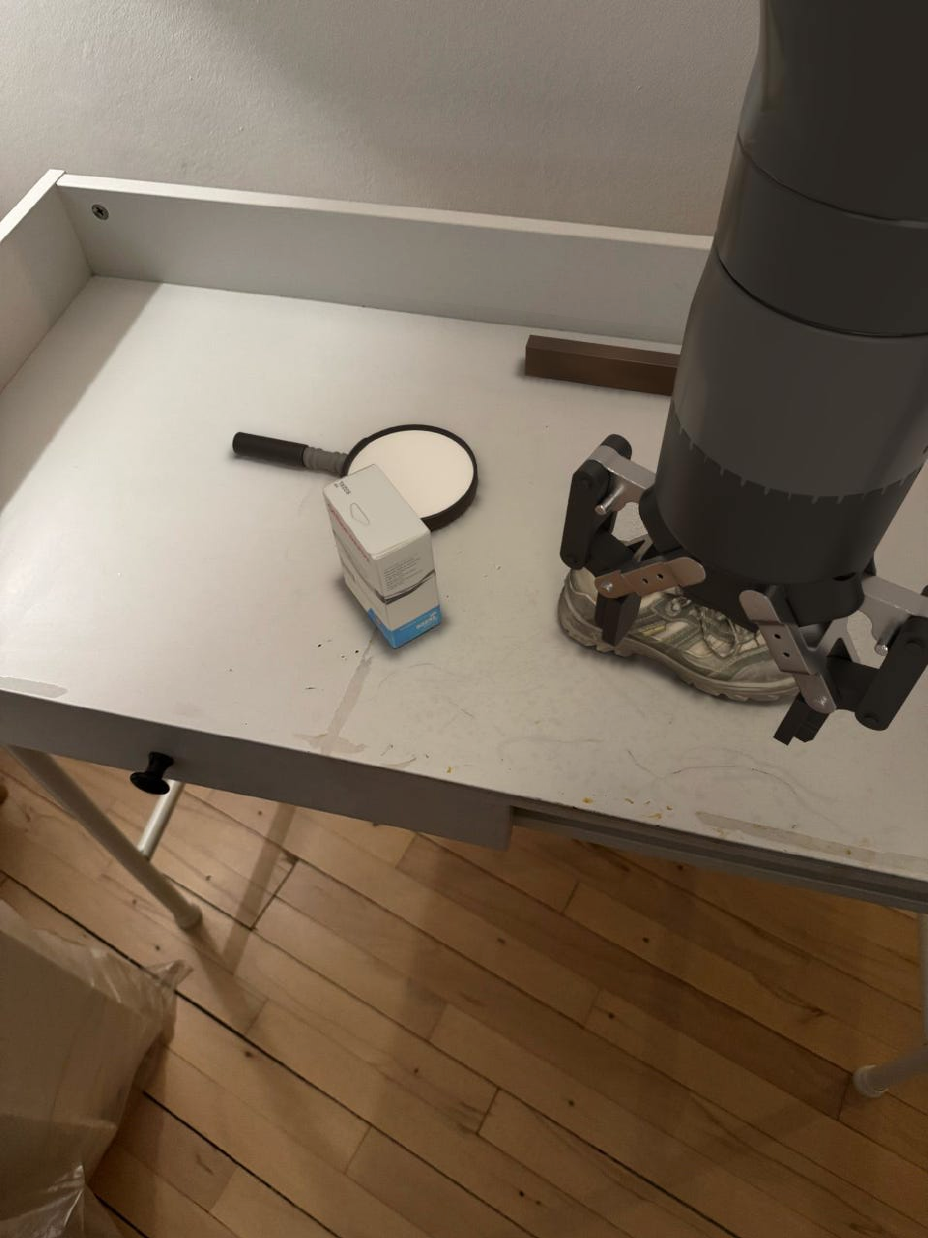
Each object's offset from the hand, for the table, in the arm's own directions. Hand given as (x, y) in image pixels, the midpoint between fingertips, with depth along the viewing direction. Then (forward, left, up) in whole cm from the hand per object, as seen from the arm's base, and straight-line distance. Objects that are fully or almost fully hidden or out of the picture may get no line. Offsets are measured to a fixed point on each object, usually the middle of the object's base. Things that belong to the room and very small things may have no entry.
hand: (700, 677), depth 38 cm
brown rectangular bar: (+23, -42, -23) cm, 53 cm away
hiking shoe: (+6, -17, -24) cm, 30 cm away
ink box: (+28, -6, -24) cm, 37 cm away
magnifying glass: (+41, -15, -24) cm, 49 cm away
